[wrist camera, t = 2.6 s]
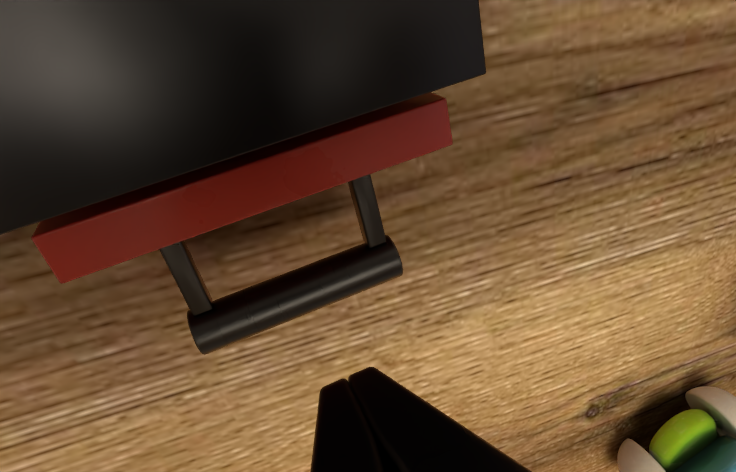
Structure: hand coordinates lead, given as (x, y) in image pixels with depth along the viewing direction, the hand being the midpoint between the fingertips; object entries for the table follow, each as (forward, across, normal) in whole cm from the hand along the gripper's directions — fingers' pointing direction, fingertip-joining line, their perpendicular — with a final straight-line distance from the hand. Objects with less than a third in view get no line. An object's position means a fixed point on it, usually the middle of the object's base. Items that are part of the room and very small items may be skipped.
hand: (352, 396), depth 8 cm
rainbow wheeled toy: (+12, -20, +28) cm, 36 cm away
